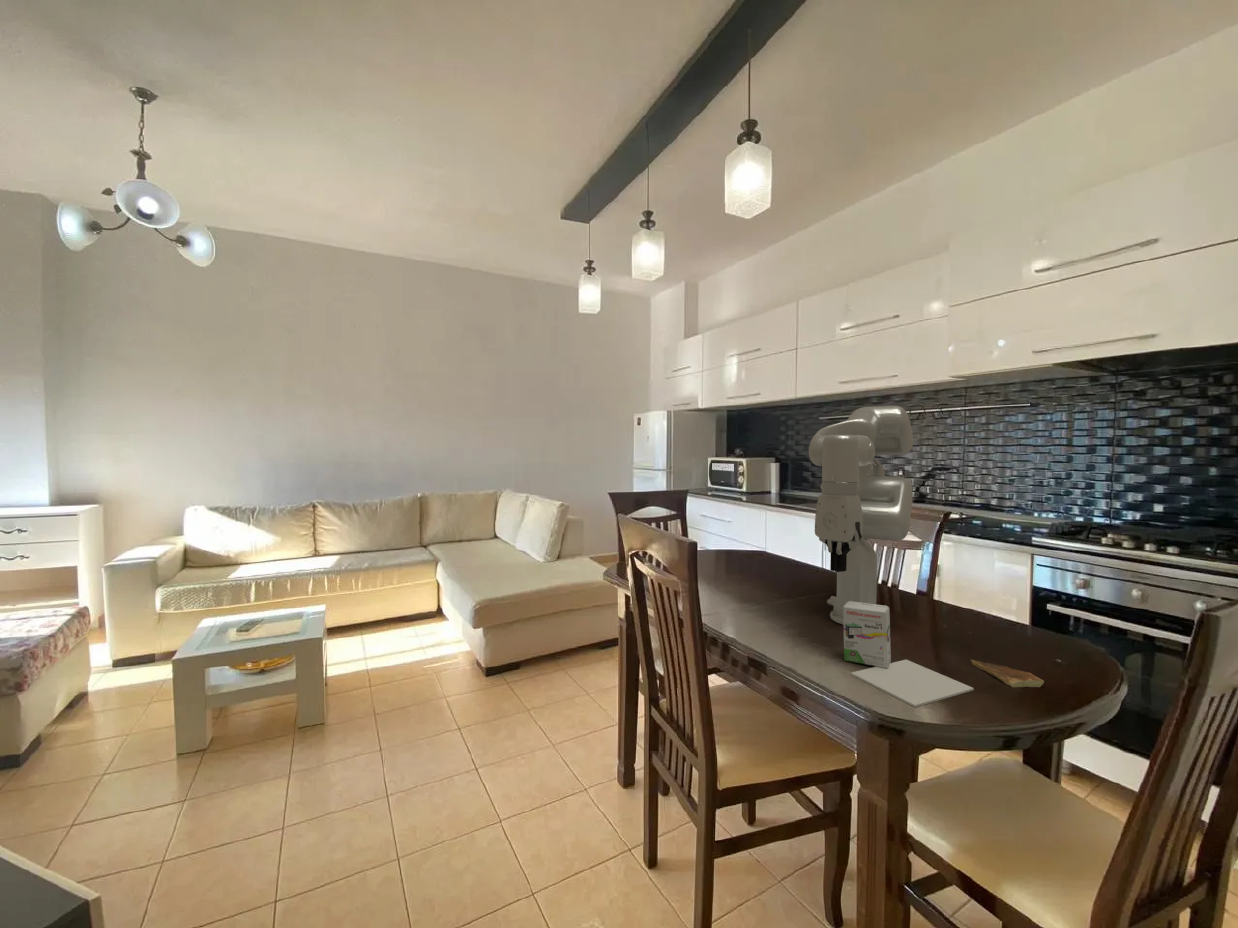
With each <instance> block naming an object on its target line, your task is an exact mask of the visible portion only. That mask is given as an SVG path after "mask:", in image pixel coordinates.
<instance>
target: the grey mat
mask: <svg viewBox="0 0 1238 928" xmlns="http://www.w3.org/2000/svg"><path fill="white" fill-rule="evenodd" d="M850 676H852V677H854V678H856V679H859V680H860V681H862V682H864V683H866V684H868V685H870V686H872V687H874V688H877V689H878V690H880V691H882V692H883V693H886V694H888V695H890V696H892V697H894V698H896V699H898V700H900V701H901V702H903V703H905V704H908V705H910V706H912V707H914V708H918V707H921V706H924V705H929V704H932V703H935V702H938V701H941V700H945V699H948V698H952V697H956V696H959V695H963V694H966V693H970V692H972V691H974V690H975V689H974V687H972V686H970V685H967V684H965V683H963V682H960V681H959V680H956V679H953V678H950V677H948V676H947V675H944V674H943V673H942V674H941V673H939V672H936V671H934V670H932V669H929V668H928V667H925V666H922V665H920V664H917V663H915V662H913V661H911V660H909V659H903V660H899V661H894V662H890V664H889V666H888V668H883V667H878V666H872V667H868V668H864V669H860V670H856V671H853V672H850Z"/></svg>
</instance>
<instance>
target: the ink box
mask: <svg viewBox="0 0 1238 928" xmlns="http://www.w3.org/2000/svg"><path fill="white" fill-rule="evenodd" d="M890 615H891V614H890V607H889V606H887V605H881V604H877V603H876V604H869V603H861V602H853V601H848V602H847V603H846V604H845V605H844V606H843V624H842V625H843V626H842V627H843V655H844V659H843V661H847V662H853V663H857V664H862V665H867V666H872V667H877V666H878V667H883V668H888V666H889V664H890V663H892V662H891V661H892V655H891V654H892V652H891V617H890Z"/></svg>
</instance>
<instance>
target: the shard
mask: <svg viewBox="0 0 1238 928" xmlns="http://www.w3.org/2000/svg"><path fill="white" fill-rule="evenodd" d="M970 661H971V664H972V665H973V666H974V667H976V668H978V669H980V670H982V671H983V672H985V673H987V674H990V675H991V676H993V677H995V678H996V679H997V680H999V681H1001V682H1003V683H1004V684H1006V685H1007V686H1010V687H1011V688H1027V687H1028V688H1041V687H1042V686H1043V684H1044V683H1045V681H1044V680H1043V679H1041V678H1040V677H1038V676H1036V675H1034V674H1032V672H1029V671H1025V670H1022V669H1018V668H1014V667H1010V666H1006V665H1002V664H997V663H991V662H987V661H983V660H978V659H973V658H970Z"/></svg>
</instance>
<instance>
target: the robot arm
mask: <svg viewBox="0 0 1238 928" xmlns="http://www.w3.org/2000/svg"><path fill="white" fill-rule="evenodd" d="M913 445H914V434H913V429H912V425H911V419H910V417H909V414H908V412H907V410H906V409H904V408H903V407H902V406H899V405H882V406H881V405H879V406H878V405H876V406H875V405H874V406H863V407H860V408H857V409H855V410H854V411H853V412H852V413H851V414H850V416H849V417H848V418H847V420H844V421H840V422H838V423H834V424H831V425H828V426H825V427H822V428H821V429H819V430H818V431H817V432H816V433H815V434H814V435H813V437H811V440H810V443H809V446H808V457H809V459H810V461H811V463H812V464H814V465H815V466H817V467H822V468H821V469H822V471H821V472H822V474H821V475H822V476H821V483H820V485H819V487H820V489H821V494H819V495H818V499H817V503H816V507H815V516H814V517H815V518H814V535H815V536H816V537H817V538H818V540H819V542H821V543H823V544H825V546H826V547H827V551H828V553H830V560H829V561H830V564H829V565H830V566H829V567H830V568H829V569H830V571H831V572H834V573H836V596H834V595H831V596H830V598H828V599H827V601H826V603H827V604H828V605H830V606H833V609H832V610H831V611H830V613H829V616H830V620H832V621H833V622H835V623H837V624H840V625H843V606H844V605H845V604H846V603H847V602H848V601H853V602H861V603H869V604H876V605H877V593H878V592H877V586H878V585H877V584H878V580H877V579H878V555H877V553H876V551H875V549H874V547H873V546H872V545H871V544H870V542H869V541H868V540H872V539H873V540H881V541H882V540H883V541H895V542H896V541H897V542H898V541H902V540H905V538H906V537H907V536H908V534H909V529H910V526H911V525H910V524H911V516H912V509H913V497H914V496H913V495H914V494H913V486H912V484H911V483H910V481H909V480H908V478H906V477H902V476H891V475H890V476H889V475H886V471H885V470H886V469H885V468H884V466H883V465H882V464H881V463H880V462H879V461H878V460H877V459H875V456H902V455H907V454H909V453H910V452H911V450H912V448H913Z"/></svg>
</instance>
